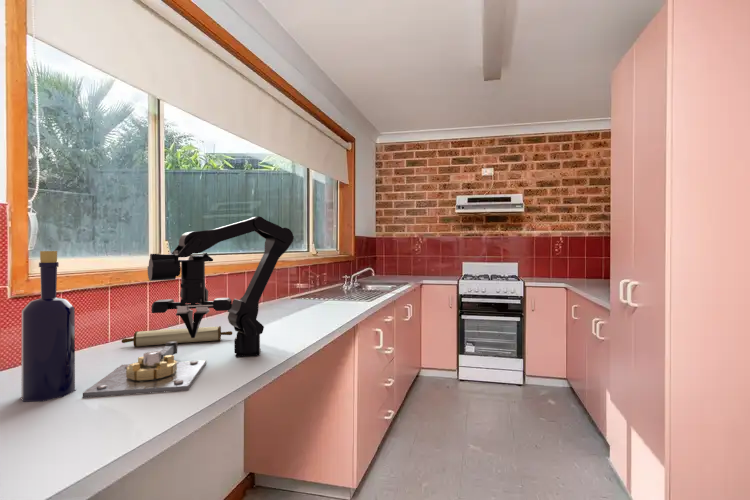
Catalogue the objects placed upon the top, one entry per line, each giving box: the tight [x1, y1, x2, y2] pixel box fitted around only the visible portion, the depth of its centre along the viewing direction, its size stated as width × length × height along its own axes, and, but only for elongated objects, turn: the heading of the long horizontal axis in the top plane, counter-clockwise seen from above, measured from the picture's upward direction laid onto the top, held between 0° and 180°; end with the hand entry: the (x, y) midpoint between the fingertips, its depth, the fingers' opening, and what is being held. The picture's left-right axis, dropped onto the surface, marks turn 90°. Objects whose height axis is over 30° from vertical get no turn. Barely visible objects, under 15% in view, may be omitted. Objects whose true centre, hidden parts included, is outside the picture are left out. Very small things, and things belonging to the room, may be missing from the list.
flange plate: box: [82, 350, 207, 399], centre depth 93 cm, size 20×20×6 cm
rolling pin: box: [121, 325, 233, 348], centre depth 127 cm, size 32×6×5 cm, turn 110°
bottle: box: [20, 250, 77, 403], centre depth 83 cm, size 9×9×30 cm
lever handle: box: [126, 341, 178, 380], centre depth 99 cm, size 10×22×4 cm, turn 13°
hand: (193, 337), depth 105 cm, fingers closed
